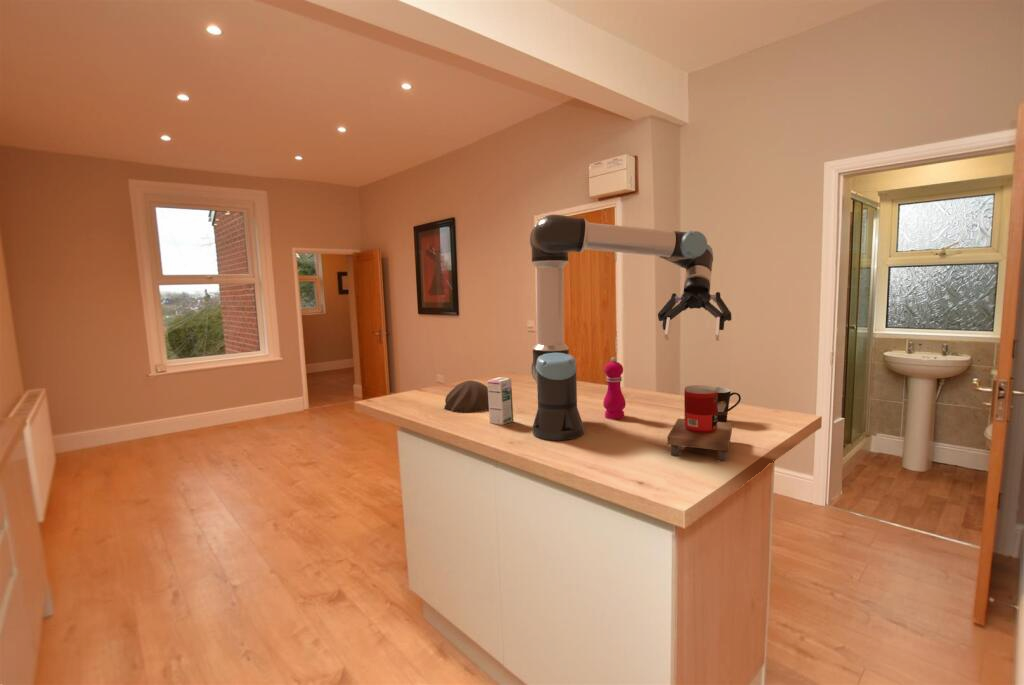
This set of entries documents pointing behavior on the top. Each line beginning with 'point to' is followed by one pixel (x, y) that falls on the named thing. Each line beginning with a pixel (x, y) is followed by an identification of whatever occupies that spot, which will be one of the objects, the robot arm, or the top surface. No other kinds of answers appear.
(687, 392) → the canned food
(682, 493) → the top surface
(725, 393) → the coffee mug
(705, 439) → the walnut shelf
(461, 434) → the top surface
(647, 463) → the top surface
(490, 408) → the syrup box
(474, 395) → the decorative dome
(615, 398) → the pepper mill
